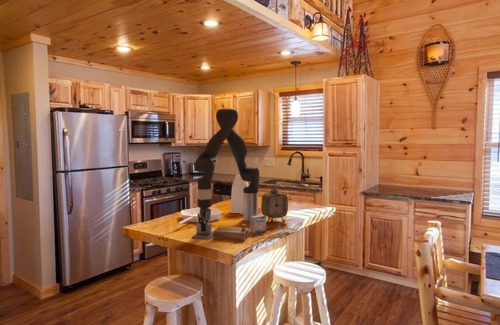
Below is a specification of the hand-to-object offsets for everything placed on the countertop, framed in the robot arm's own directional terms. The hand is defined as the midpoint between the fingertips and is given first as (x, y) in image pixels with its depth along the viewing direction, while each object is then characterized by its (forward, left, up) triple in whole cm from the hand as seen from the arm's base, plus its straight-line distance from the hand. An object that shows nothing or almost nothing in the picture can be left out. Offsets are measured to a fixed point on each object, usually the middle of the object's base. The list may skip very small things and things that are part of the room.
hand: (204, 230), depth 174 cm
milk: (-61, +3, -3) cm, 61 cm away
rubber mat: (0, 0, -3) cm, 3 cm away
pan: (-28, -17, -3) cm, 33 cm away
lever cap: (0, 0, -2) cm, 2 cm away
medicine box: (-14, +25, -3) cm, 29 cm away
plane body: (0, +14, -3) cm, 15 cm away
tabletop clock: (-38, +30, -3) cm, 49 cm away
